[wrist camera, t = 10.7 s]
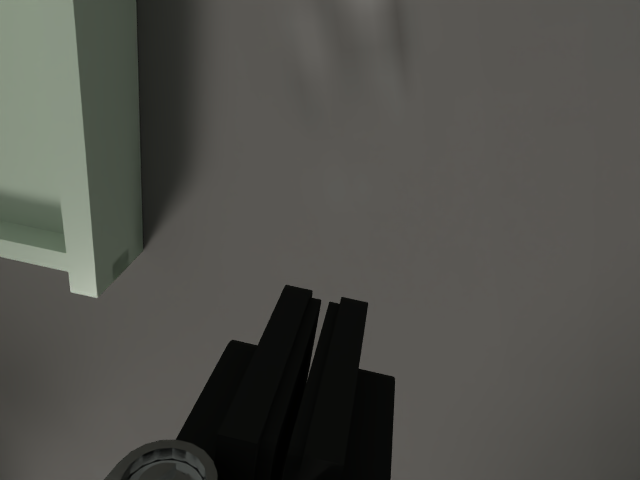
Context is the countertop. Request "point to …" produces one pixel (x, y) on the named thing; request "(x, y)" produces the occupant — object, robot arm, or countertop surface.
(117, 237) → the tray
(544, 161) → the countertop surface
